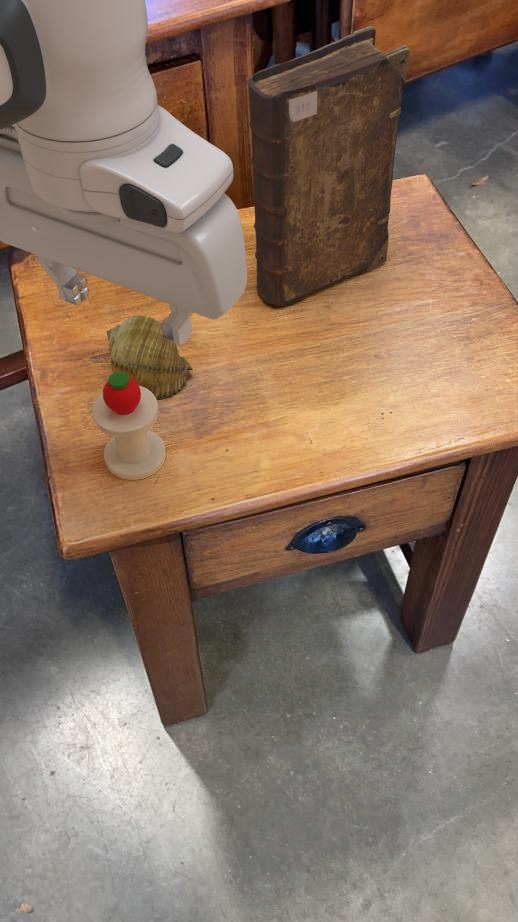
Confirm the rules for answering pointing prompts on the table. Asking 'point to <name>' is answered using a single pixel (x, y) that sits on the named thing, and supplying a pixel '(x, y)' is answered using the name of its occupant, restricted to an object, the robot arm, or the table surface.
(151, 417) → the stand
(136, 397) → the strawberry
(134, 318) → the seashell
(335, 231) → the book
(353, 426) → the table surface
